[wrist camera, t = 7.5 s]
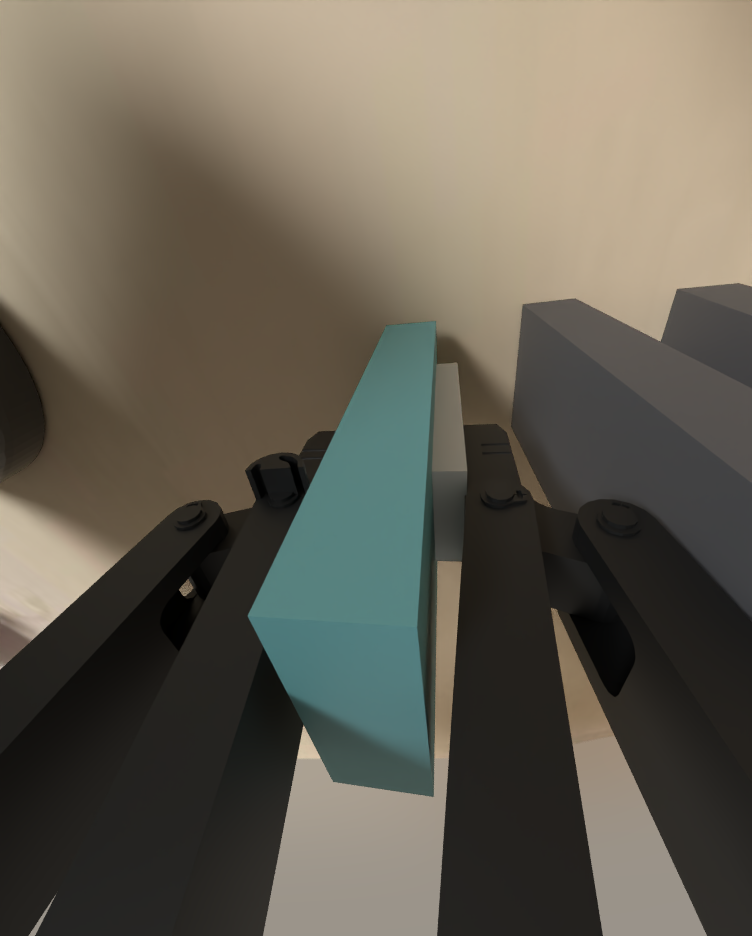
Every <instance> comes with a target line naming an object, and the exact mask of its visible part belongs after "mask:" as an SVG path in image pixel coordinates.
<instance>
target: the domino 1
mask: <svg viewBox="0 0 752 936" xmlns="http://www.w3.org/2000/svg"><path fill="white" fill-rule="evenodd" d="M436 364H437V340H436V321H431V322H420V323H408V324H397V325H386V327H385V329H384V332H383V334H382V336H381V338H380V340H379V342H378V344H377V346H376V348H375V350H374V352H373V355H372V357H371V359H370V361H369V363H368V365H367V367H366V369H365V371H364V373H363V376H362V378H361V380H360V382H359V384H358V386H357V388H356V390H355V392H354V394H353V396H352V399H351V401H350V403H349V405H348V407H347V409H346V411H345V413H344V415H343V417H342V419H341V422H340V424H339V426H338V428H337V430H336V432H335V434H334V436H333V438H332V440H331V443H330V445H329V447H328V449H327V451H326V453H325V455H324V457H323V459H322V461H321V463H320V466H319V468H318V470H317V472H316V474H315V476H314V478H313V480H312V482H311V484H310V487H309V489H308V491H307V493H306V495H305V497H304V499H303V501H302V503H301V505H300V507H299V510H298V512H297V514H296V516H295V518H294V520H293V522H292V524H291V526H290V528H289V530H288V533H287V535H286V537H285V539H284V541H283V543H282V545H281V547H280V549H279V551H278V554H277V556H276V558H275V560H274V562H273V564H272V566H271V568H270V570H269V572H268V574H267V577H266V579H265V581H264V583H263V585H262V587H261V589H260V591H259V593H258V595H257V597H256V600H255V602H254V604H253V606H252V608H251V610H250V612H249V614H248V618H249V620H250V622H251V624H252V626H253V627H254V629H255V631H256V633H257V635H258V637H259V639H260V641H261V643H262V645H263V647H264V649H265V651H266V653H267V655H268V657H269V658H270V660H271V662H272V664H273V666H274V668H275V670H276V672H277V674H278V676H279V678H280V680H281V682H282V684H283V686H284V688H285V689H286V691H287V693H288V695H289V697H290V699H291V701H292V703H293V705H294V707H295V709H296V711H297V713H298V715H299V717H300V718H301V720H302V722H303V724H304V726H305V728H306V730H307V732H308V734H309V736H310V738H311V740H312V742H313V744H314V746H315V748H316V749H317V751H318V753H319V755H320V757H321V759H322V761H323V763H324V765H325V767H326V769H327V771H328V773H329V775H330V777H331V779H332V780H333V782H338V783H345V784H351V785H358V786H365V787H372V788H378V789H385V790H391V791H399V792H405V793H412V794H418V795H425V796H432V797H433V796H434V740H435V677H436V615H437V561H436V558H435V535H434V511H433V488H432V455H433V432H434V408H435V384H436Z"/></svg>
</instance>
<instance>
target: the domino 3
mask: <svg viewBox="0 0 752 936" xmlns="http://www.w3.org/2000/svg"><path fill="white" fill-rule="evenodd" d="M661 342H662V343H664V344H666V345H668V346H670V347H671V348H673V349H675V350H677V351H679V352H681V353H683V354H685V355H687V356H689V357H691V358H693V359H695V360H697V361H699V362H701V363H703V364H705V365H707V366H709V367H711V368H713V369H715V370H717V371H719V372H721V373H723V374H725V375H726V376H728V377H730V378H732V379H734V380H736V381H738V382H740V383H742V384H744V385H746V386H748V387H750V388H752V287H751V286H747V285H743V284H739V283H737V284H726V285H716V286H705V287H694V288H683V289H677V291H676V295H675V298H674V301H673V304H672V308H671V311H670V314H669V317H668V321H667V324H666V327H665V330H664V334H663V337H662V340H661Z"/></svg>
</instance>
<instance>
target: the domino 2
mask: <svg viewBox="0 0 752 936" xmlns="http://www.w3.org/2000/svg"><path fill="white" fill-rule="evenodd" d="M511 427H512V429H513V431H514V433H515V435H516V437H517V439H518V441H519V443H520V445H521V447H522V449H523V451H524V453H525V455H526V457H527V459H528V461H529V463H530V465H531V467H532V469H533V471H534V473H535V475H536V477H537V479H538V481H539V483H540V485H541V487H542V489H543V491H544V493H545V495H546V497H547V499H548V501H549V503H550V505H551V507H552V508H553V509H556V510H561V511H566V512H570V513H575V514H578V511H579V508H580V507H581V506H583V505H584V504H585V503H587V502H589V501H594V500H598V499H614V500H619V501H623V502H627V503H631V504H633V505H635V506H637V507H639V508H642V509H644V510H645V511H647V512H648V513H649V514H650V515H652V516H653V517H654V518H656V519H657V520H658V522H659V523H660V524H661V525H662V526H663V527H664V528H665V529H666V530H667V531H668V532H669V533H670V534H671V536H672V537H673V538H674V539H675V540H676V541H677V542H678V543H679V544H680V545H681V546H682V547H683V548H684V550H685V551H686V552H687V553H688V554H689V555H690V556H691V557H692V558H693V559H694V560H695V561H696V562H697V564H698V565H699V566H700V567H701V568H702V569H703V570H704V571H705V572H706V573H707V574H708V575H709V576H710V578H711V579H712V580H713V581H714V582H715V583H716V584H717V585H718V586H719V587H720V588H721V589H722V590H723V592H724V593H725V594H726V595H727V596H728V597H729V598H730V599H731V600H732V601H733V602H734V603H735V604H736V606H737V607H738V608H739V609H740V610H741V611H742V612H743V613H744V614H745V615H746V616H747V617H748V618H749V619H750V621H751V622H752V388H750V387H748V386H746V385H744V384H742V383H740V382H738V381H736V380H734V379H732V378H730V377H728V376H726V375H725V374H723V373H721V372H719V371H717V370H715V369H713V368H711V367H709V366H707V365H705V364H703V363H701V362H699V361H697V360H695V359H693V358H691V357H689V356H687V355H685V354H683V353H681V352H679V351H677V350H675V349H673V348H671V347H670V346H668V345H666V344H664V343H662V342H660V341H658V340H656V339H654V338H652V337H650V336H648V335H646V334H644V333H642V332H640V331H638V330H636V329H634V328H632V327H630V326H628V325H626V324H624V323H622V322H620V321H618V320H616V319H614V318H613V317H611V316H609V315H607V314H605V313H603V312H601V311H599V310H597V309H595V308H593V307H591V306H589V305H587V304H585V303H583V302H581V301H579V300H577V299H567V300H558V301H549V302H540V303H531V304H523V308H522V319H521V329H520V339H519V350H518V360H517V371H516V381H515V392H514V402H513V413H512V423H511Z"/></svg>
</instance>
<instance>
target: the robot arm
mask: <svg viewBox="0 0 752 936" xmlns="http://www.w3.org/2000/svg"><path fill="white" fill-rule="evenodd" d="M335 432H336V431H321V432H318V433H317V434H315V435H314V436H313V437H311V438H310V439H309V440H308V441H307V443H306V444H305V446H304V448H303V451H302V452H301V453H300V455H296V454H293V453H277V454H271V455H268V456H266V457H263V458H260V459H259V460H257V461H255V462H254V463H252V464H251V465H250V466H249V467H248V468H247V469H246V470H245V472H246V474H247V477H248V479H249V482H250V485H251V487H252V490H253V492H254V495H255V498H256V501H255V503H254V505H253V507H252V508H249V509H245V510H240V511H236V512H231V513H227V514H224V513H223V511H222V509H221V507H220V506H219V505H218V503H217V502H214V501H211V500H200V501H195V502H191V503H188V504H186V505H184V506H182V507H180V508H178V509H176V510H175V511H174V512H172V513H171V514H170V515H168V516H167V517H166V518H165V519H164V520H163V521H162V522H161V523H160V524H158V525H157V526H156V527H155V528H154V529H153V530H152V531H151V532H150V533H149V534H148V535H146V536H145V537H144V538H143V539H142V540H141V541H140V542H139V543H138V544H137V545H136V546H134V547H133V548H132V549H131V550H130V551H129V552H128V553H127V554H126V555H125V556H124V557H122V558H121V559H120V560H119V561H118V562H117V563H116V564H115V565H114V566H113V567H112V568H111V569H109V570H108V571H107V572H106V573H105V574H104V575H103V576H102V577H101V578H100V579H99V580H97V581H96V582H95V583H94V584H93V585H92V586H91V587H90V588H89V589H88V590H87V591H85V592H84V593H83V594H82V595H81V596H80V597H79V598H78V599H77V600H76V601H75V602H73V603H72V604H71V605H70V606H69V607H68V608H67V609H66V610H65V611H64V612H63V613H61V614H60V615H59V616H58V617H57V618H56V619H55V620H54V621H53V622H52V623H51V624H50V625H48V626H47V627H46V628H45V629H44V630H43V631H42V632H41V633H40V634H39V635H38V636H36V637H35V638H34V639H33V640H32V641H31V642H30V643H29V644H28V645H27V646H26V647H24V648H23V649H22V650H21V651H20V652H19V653H18V654H17V655H16V656H15V657H14V658H12V659H11V660H10V661H9V662H8V663H7V664H6V665H5V666H4V667H3V668H2V669H1V670H0V936H28V935H29V934H30V933H31V931H32V929H33V928H34V926H35V925H36V923H37V922H38V920H39V919H40V917H41V916H42V914H43V913H44V911H45V910H46V908H47V907H48V905H49V904H50V902H51V900H52V899H53V898H54V896H55V895H56V896H55V898H54V900H53V902H52V904H51V906H50V908H49V910H48V912H47V914H46V916H45V917H44V919H43V922H42V923H41V925H40V927H39V929H38V931H37V933H36V935H35V936H263V932H264V926H265V921H266V916H267V911H268V906H269V901H270V895H271V890H272V885H273V880H274V874H275V869H276V864H277V859H278V854H279V849H280V843H281V838H282V833H283V828H284V823H285V817H286V812H287V807H288V802H289V796H290V791H291V786H292V781H293V776H294V771H295V765H296V760H297V755H298V750H299V745H300V739H301V734H302V729H303V722H302V720H301V718H300V717H299V715H298V713H297V711H296V709H295V707H294V705H293V703H292V701H291V699H290V697H289V695H288V693H287V691H286V689H285V688H284V686H283V684H282V682H281V680H280V678H279V676H278V674H277V672H276V670H275V668H274V666H273V664H272V662H271V660H270V658H269V657H268V655H267V653H266V651H265V649H264V647H263V645H262V643H261V641H260V639H259V637H258V635H257V633H256V631H255V629H254V627H253V626H252V624H251V622H250V620H249V618H248V614H249V612H250V610H251V608H252V606H253V604H254V602H255V600H256V597H257V595H258V593H259V591H260V589H261V587H262V585H263V583H264V581H265V579H266V577H267V574H268V572H269V570H270V568H271V566H272V564H273V562H274V560H275V558H276V556H277V554H278V551H279V549H280V547H281V545H282V543H283V541H284V539H285V537H286V535H287V533H288V530H289V528H290V526H291V524H292V522H293V520H294V518H295V516H296V514H297V512H298V510H299V507H300V505H301V503H302V501H303V499H304V497H305V495H306V493H307V491H308V489H309V487H310V484H311V482H312V480H313V478H314V476H315V474H316V472H317V470H318V468H319V466H320V463H321V461H322V459H323V457H324V455H325V453H326V451H327V449H328V447H329V445H330V443H331V440H332V438H333V436H334V434H335ZM43 439H44V417H43V411H42V406H41V403H40V399H39V396H38V393H37V390H36V388H35V385H34V383H33V381H32V378H31V376H30V374H29V372H28V370H27V368H26V366H25V364H24V362H23V360H22V359H21V357H20V355H19V353H18V352H17V350H16V349H15V347H14V345H13V344H12V342H11V341H10V339H9V338H8V336H7V335H6V333H5V332H4V331H3V329H2V328H1V326H0V483H1V482H2V481H4V480H6V479H7V478H9V477H10V476H12V475H14V474H15V473H17V472H18V471H20V470H22V469H23V468H25V467H26V466H28V465H29V464H30V463H31V462H32V461H33V460H34V459H35V458H36V457H37V455H38V453H39V451H40V449H41V447H42V443H43ZM432 488H433V511H434V535H435V558H436V561H461V562H462V569H461V584H460V599H459V614H458V630H457V645H456V660H455V675H454V690H453V705H452V720H451V735H450V750H449V767H448V782H447V797H446V812H445V827H444V841H443V857H442V873H441V887H440V903H439V917H438V932H437V936H603V935H602V928H601V922H600V915H599V909H598V902H597V896H596V890H595V884H594V878H593V871H592V865H591V859H590V853H589V846H588V840H587V833H586V827H585V821H584V815H583V809H582V802H581V796H580V790H579V783H578V777H577V770H576V764H575V758H574V752H573V745H572V739H571V733H570V726H569V720H568V714H567V707H566V701H565V695H564V689H563V682H562V676H561V670H560V663H559V657H558V651H557V645H556V638H555V632H554V626H553V619H552V613H551V608H554V609H557V610H558V614H559V616H560V618H561V620H562V623H563V625H564V627H565V629H566V631H567V633H568V636H569V638H570V640H571V642H572V644H573V646H574V648H575V651H576V653H577V655H578V657H579V659H580V661H581V664H582V666H583V668H584V670H585V672H586V674H587V677H588V679H589V681H590V683H591V685H592V687H593V690H594V692H595V694H596V696H597V698H598V700H599V703H600V705H601V707H602V709H603V711H604V713H605V716H606V718H607V720H608V722H609V724H610V726H611V729H612V731H613V733H614V735H615V737H616V739H617V742H618V744H619V746H620V748H621V750H622V752H623V755H624V757H625V759H626V761H627V763H628V765H629V768H630V769H631V772H632V774H633V776H634V778H635V780H636V783H637V785H638V787H639V789H640V791H641V794H642V796H643V798H644V800H645V802H646V804H647V806H648V809H649V811H650V813H651V815H652V817H653V820H654V822H655V824H656V826H657V828H658V830H659V832H660V835H661V837H662V839H663V841H664V843H665V846H666V848H667V850H668V852H669V854H670V856H671V858H672V861H673V863H674V865H675V867H676V869H677V872H678V874H679V876H680V878H681V880H682V882H683V885H684V886H685V889H686V891H687V893H688V895H689V897H690V900H691V901H692V904H693V906H694V908H695V910H696V913H697V915H698V917H699V919H700V921H701V923H702V926H703V928H704V930H705V932H706V934H707V936H752V622H751V621H750V619H749V618H748V617H747V616H746V615H745V614H744V613H743V612H742V611H741V610H740V609H739V608H738V607H737V606H736V604H735V603H734V602H733V601H732V600H731V599H730V598H729V597H728V596H727V595H726V594H725V593H724V592H723V590H722V589H721V588H720V587H719V586H718V585H717V584H716V583H715V582H714V581H713V580H712V579H711V578H710V576H709V575H708V574H707V573H706V572H705V571H704V570H703V569H702V568H701V567H700V566H699V565H698V564H697V562H696V561H695V560H694V559H693V558H692V557H691V556H690V555H689V554H688V553H687V552H686V551H685V550H684V548H683V547H682V546H681V545H680V544H679V543H678V542H677V541H676V540H675V539H674V538H673V537H672V536H671V534H670V533H669V532H668V531H667V530H666V529H665V528H664V527H663V526H662V525H661V524H660V523H659V522H658V520H657V519H656V518H654V517H653V516H652V515H650V514H649V513H648V512H647V511H645V510H644V509H642V508H639V507H637V506H635V505H633V504H631V503H627V502H623V501H619V500H614V499H598V500H594V501H589V502H587V503H585V504H584V505H583V506H581V507H580V508H579V511H578V514H575V513H570V512H566V511H561V510H556V509H553V508H549V507H546V506H544V505H542V504H539V503H537V502H536V501H534V500H533V498H532V496H531V493H530V492H529V491H528V490H527V489H526V488H524V487H523V486H522V485H521V482H520V479H519V475H518V471H517V468H516V464H515V461H514V457H513V454H512V450H511V446H510V443H509V439H508V436H507V433H506V432H505V431H504V430H503V429H502V428H501V427H499V426H498V425H497V424H486V425H463V419H462V408H461V396H460V385H459V374H458V363H444V364H436V384H435V408H434V432H433V455H432ZM187 579H189V581H190V583H191V584H192V586H193V588H194V589H193V590H192V591H191V592H190V593H189V594H187V595H186V596H183V595H182V594H181V592H180V591H179V589H180V587H181V586H182V585H183V584H184V583H185V582H186V580H187ZM56 893H57V894H56Z"/></svg>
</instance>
